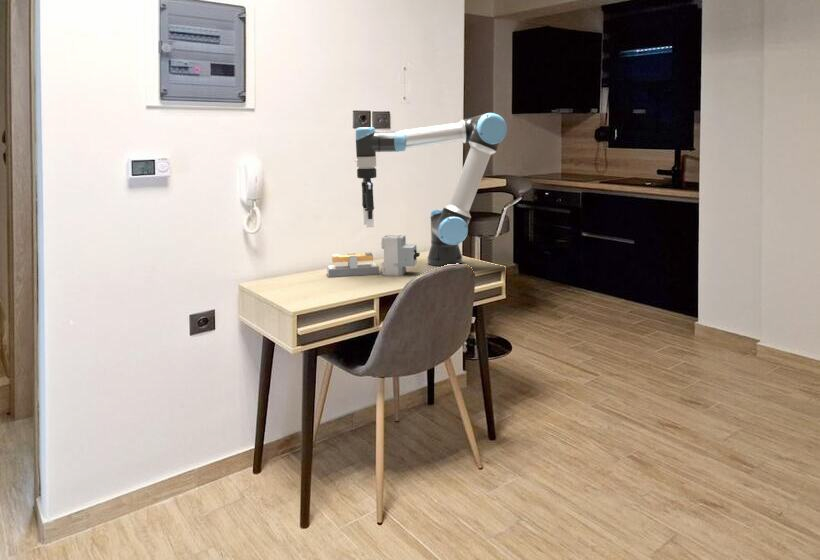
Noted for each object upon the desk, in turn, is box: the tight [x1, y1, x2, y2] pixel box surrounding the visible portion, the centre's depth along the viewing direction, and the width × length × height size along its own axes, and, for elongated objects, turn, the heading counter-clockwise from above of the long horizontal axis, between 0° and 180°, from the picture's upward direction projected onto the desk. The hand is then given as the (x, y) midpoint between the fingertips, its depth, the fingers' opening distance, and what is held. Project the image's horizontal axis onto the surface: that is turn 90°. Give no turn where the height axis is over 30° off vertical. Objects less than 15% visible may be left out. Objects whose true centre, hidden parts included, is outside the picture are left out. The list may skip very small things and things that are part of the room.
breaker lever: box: [331, 251, 374, 263], centre depth 259 cm, size 16×5×3 cm, turn 101°
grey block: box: [326, 252, 380, 278], centre depth 259 cm, size 20×7×8 cm, turn 101°
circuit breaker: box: [380, 234, 421, 277], centre depth 257 cm, size 8×14×15 cm, turn 78°
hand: (368, 225), depth 257 cm, fingers open, 8 cm apart
